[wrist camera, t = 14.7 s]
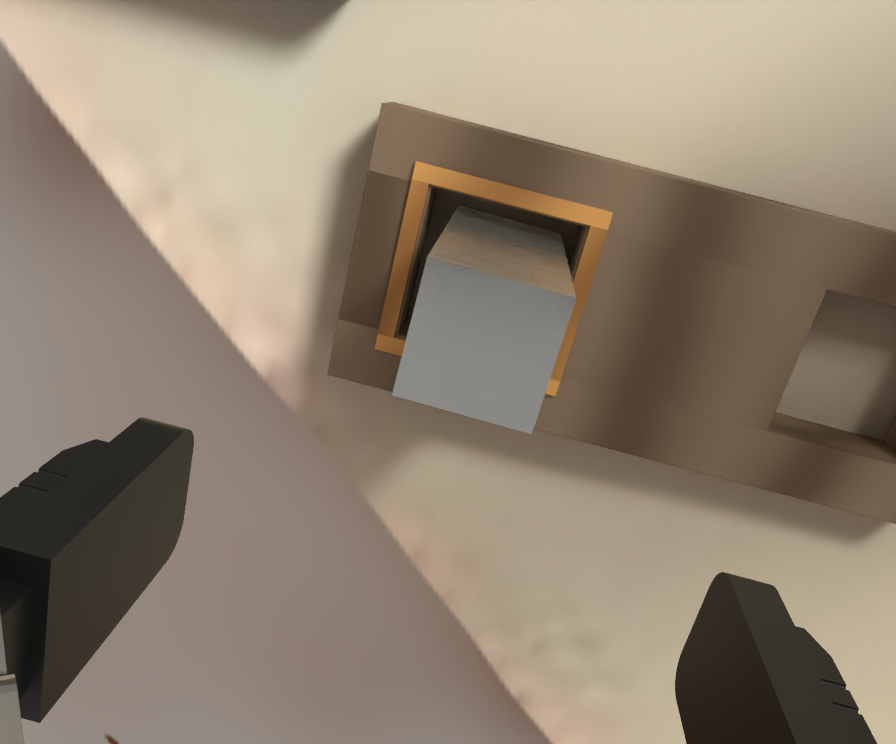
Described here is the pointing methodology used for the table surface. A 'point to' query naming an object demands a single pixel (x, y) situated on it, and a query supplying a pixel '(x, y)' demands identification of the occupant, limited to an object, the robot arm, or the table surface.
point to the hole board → (638, 303)
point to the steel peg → (488, 320)
